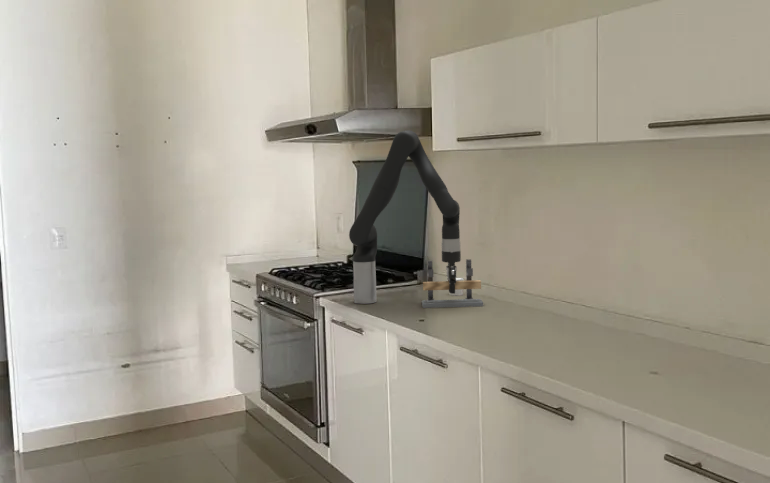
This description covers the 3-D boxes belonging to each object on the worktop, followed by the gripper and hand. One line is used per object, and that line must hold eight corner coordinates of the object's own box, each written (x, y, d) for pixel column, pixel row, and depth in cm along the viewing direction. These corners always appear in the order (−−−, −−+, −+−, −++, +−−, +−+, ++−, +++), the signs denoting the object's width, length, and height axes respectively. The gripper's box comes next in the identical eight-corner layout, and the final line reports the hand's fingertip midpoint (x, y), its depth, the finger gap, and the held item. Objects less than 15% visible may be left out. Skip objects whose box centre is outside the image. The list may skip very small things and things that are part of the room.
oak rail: (423, 290, 303) (423, 283, 303) (423, 289, 306) (422, 281, 306) (481, 288, 303) (481, 281, 303) (480, 287, 306) (480, 280, 306)
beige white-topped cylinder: (466, 295, 327) (465, 279, 326) (450, 296, 325) (450, 280, 324) (460, 292, 333) (460, 277, 333) (446, 293, 332) (445, 277, 331)
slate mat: (422, 307, 301) (422, 304, 301) (421, 304, 309) (421, 300, 309) (483, 306, 301) (483, 302, 301) (480, 302, 309) (480, 298, 309)
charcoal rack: (427, 303, 309) (426, 262, 308) (426, 301, 315) (426, 260, 314) (474, 302, 309) (473, 261, 308) (472, 299, 316) (472, 259, 314)
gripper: (440, 248, 310) (441, 289, 312) (443, 252, 296) (444, 295, 298) (458, 247, 310) (459, 289, 312) (462, 251, 296) (463, 295, 298)
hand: (451, 292), depth 305 cm, fingers closed on oak rail, 3 cm apart
